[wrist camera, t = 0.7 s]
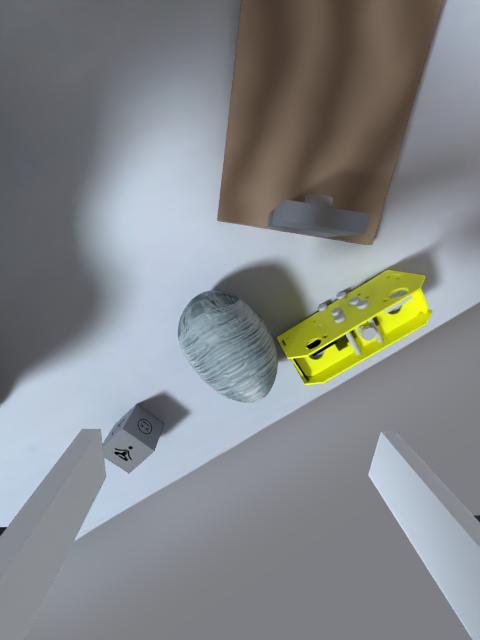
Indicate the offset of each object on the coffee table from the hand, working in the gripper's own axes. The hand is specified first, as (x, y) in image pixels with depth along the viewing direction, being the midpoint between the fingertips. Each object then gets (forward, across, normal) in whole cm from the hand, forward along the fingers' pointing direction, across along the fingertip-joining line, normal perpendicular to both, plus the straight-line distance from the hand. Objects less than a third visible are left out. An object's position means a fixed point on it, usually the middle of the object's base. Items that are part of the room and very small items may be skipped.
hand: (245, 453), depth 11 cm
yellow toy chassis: (+21, +14, +1) cm, 25 cm away
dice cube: (+21, -12, -16) cm, 30 cm away
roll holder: (+21, +8, +23) cm, 32 cm away
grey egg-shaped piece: (+21, -1, 0) cm, 21 cm away
